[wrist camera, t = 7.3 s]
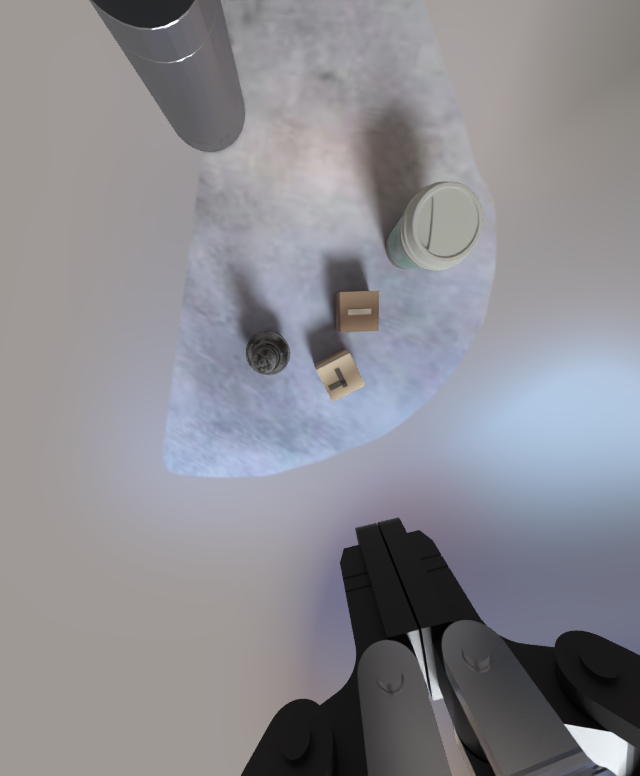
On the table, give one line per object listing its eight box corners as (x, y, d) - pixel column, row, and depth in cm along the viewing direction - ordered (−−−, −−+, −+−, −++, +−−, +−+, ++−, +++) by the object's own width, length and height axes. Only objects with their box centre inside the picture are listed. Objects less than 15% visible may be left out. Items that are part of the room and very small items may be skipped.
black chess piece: (242, 359, 45) (225, 376, 33) (259, 322, 43) (247, 326, 32) (279, 376, 46) (275, 399, 34) (297, 341, 45) (298, 351, 33)
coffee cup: (399, 198, 41) (441, 155, 30) (447, 237, 43) (505, 210, 31) (363, 256, 42) (390, 235, 31) (411, 291, 44) (454, 284, 33)
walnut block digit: (334, 294, 44) (340, 292, 39) (369, 292, 44) (379, 290, 39) (335, 329, 45) (340, 332, 40) (369, 328, 45) (378, 330, 40)
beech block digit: (313, 363, 46) (316, 370, 41) (343, 348, 46) (349, 352, 41) (328, 392, 47) (332, 402, 42) (357, 377, 47) (365, 385, 42)
